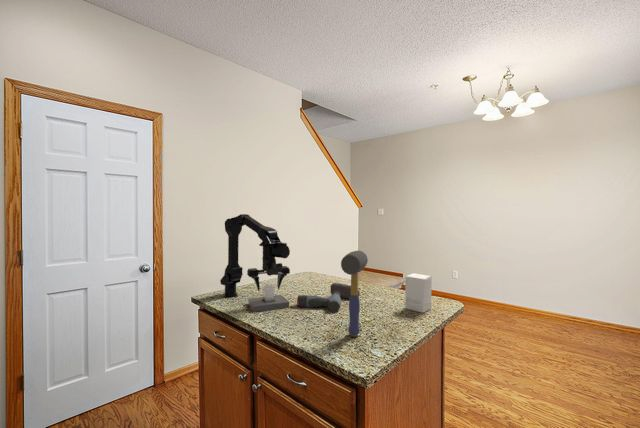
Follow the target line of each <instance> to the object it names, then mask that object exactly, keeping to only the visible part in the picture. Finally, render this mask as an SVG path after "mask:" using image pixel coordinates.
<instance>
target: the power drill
mask: <svg viewBox="0 0 640 428" xmlns="http://www.w3.org/2000/svg"><path fill="white" fill-rule="evenodd" d="M341 304H342V298H340V293H339V292H333V294H330V296H327V297H323V296H318V295H310V294H309V295H308V294H305V295H304V294H303V295H301V294H300V295H297V299H296V306H297V307H301V308H322V307H327V308H328V310H329V311H330V312H332V313H337V312H339V310H340V309H341Z"/></svg>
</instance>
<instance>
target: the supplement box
mask: <svg viewBox="0 0 640 428" xmlns="http://www.w3.org/2000/svg"><path fill="white" fill-rule="evenodd" d="M404 277H405V278H404V280H405V284H404V285H405V286H404V288H405V291H404V292H405V297H404V299H405V301H404V306H405V307H404V308H405V309H407V310H411V311H415V312H418V313H425V312H427V311H430V310H431V309H432V275H427V274H419V273H410V274H408V275H407V274H406V276H404Z"/></svg>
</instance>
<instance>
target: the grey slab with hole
mask: <svg viewBox="0 0 640 428" xmlns="http://www.w3.org/2000/svg"><path fill="white" fill-rule="evenodd" d="M248 306H249V307H250V309H251V310H252V312H253V313H258V312H266V311H272V310H278V309H279V310H280V309H287V308H290V302H289V300H287V298H285V296H283V295H282V294H278V295H277V294H276V295H275V294H274V302H266V303H264V302H263V296H260V297H252V298H248Z"/></svg>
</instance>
